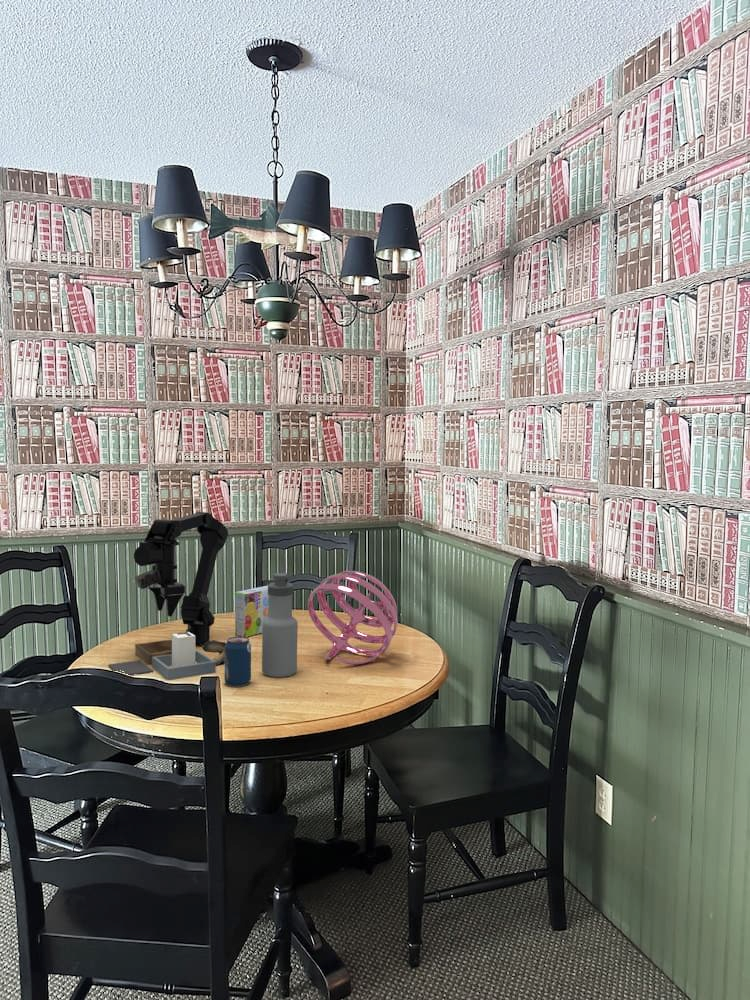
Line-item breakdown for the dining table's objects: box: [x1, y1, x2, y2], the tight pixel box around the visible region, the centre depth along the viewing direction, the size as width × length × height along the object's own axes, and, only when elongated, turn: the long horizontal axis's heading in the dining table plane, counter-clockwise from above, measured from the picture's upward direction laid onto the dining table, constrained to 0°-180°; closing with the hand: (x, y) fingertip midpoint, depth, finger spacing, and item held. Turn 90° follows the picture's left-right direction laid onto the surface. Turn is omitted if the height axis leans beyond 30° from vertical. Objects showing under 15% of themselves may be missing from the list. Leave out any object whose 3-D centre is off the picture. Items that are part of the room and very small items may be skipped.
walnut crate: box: [134, 639, 172, 666], centre depth 219 cm, size 14×14×3 cm
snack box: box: [234, 585, 269, 638], centre depth 253 cm, size 21×6×15 cm, turn 144°
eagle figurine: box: [201, 639, 227, 666], centre depth 215 cm, size 8×7×9 cm
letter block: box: [171, 631, 196, 668], centre depth 206 cm, size 5×5×10 cm
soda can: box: [224, 636, 252, 688], centre depth 195 cm, size 7×7×12 cm
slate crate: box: [151, 649, 217, 681], centre depth 206 cm, size 14×14×3 cm
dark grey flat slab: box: [107, 659, 154, 676], centre depth 206 cm, size 9×12×1 cm
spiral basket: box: [307, 570, 398, 666], centre depth 219 cm, size 28×28×27 cm
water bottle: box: [261, 572, 299, 678], centre depth 205 cm, size 10×10×28 cm
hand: (164, 613), depth 219 cm, fingers open, 9 cm apart
